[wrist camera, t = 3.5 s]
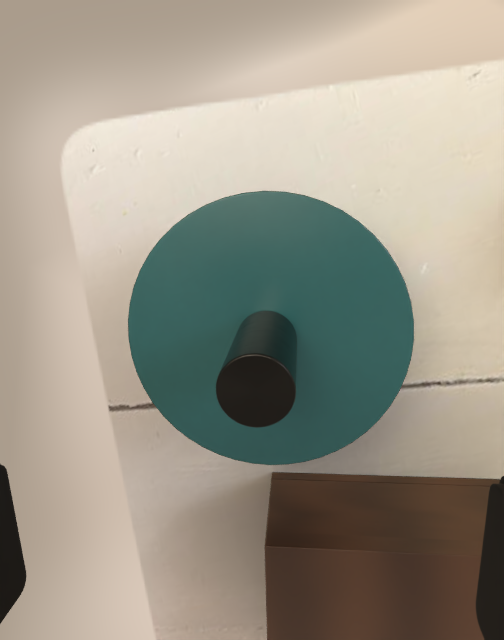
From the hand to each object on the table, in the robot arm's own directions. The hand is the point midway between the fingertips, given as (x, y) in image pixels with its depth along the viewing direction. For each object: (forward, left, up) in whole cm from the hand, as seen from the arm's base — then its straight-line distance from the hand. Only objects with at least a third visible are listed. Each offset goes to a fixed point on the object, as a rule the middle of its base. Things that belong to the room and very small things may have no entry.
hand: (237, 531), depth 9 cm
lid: (0, 0, -12) cm, 12 cm away
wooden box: (+7, -20, -21) cm, 30 cm away
